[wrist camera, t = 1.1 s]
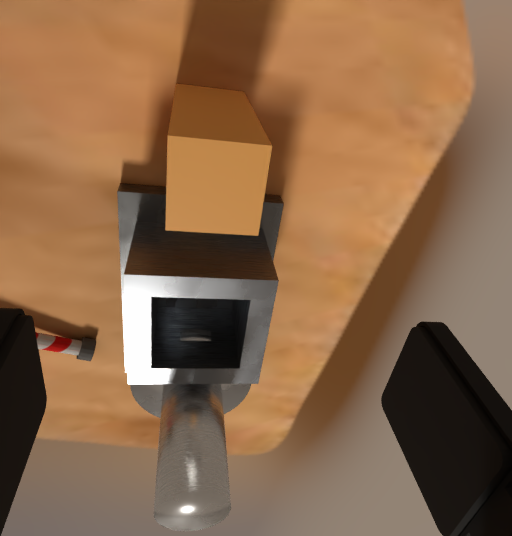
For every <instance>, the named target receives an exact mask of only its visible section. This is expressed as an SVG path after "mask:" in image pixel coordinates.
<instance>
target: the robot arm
mask: <svg viewBox="0 0 512 536" xmlns="http://www.w3.org/2000/svg"><path fill="white" fill-rule="evenodd" d="M381 401H382V407H383V410H384V412H385V414H386V417H387V419H388V421H389V423H390V425H391V427H392V430H393V432H394V434H395V436H396V438H397V440H398V443H399V445H400V447H401V449H402V451H403V454H404V456H405V458H406V460H407V462H408V464H409V467H410V469H411V471H412V473H413V475H414V478H415V480H416V482H417V484H418V486H419V488H420V490H421V493H422V495H423V497H424V499H425V501H426V503H427V506H428V508H429V510H430V512H431V514H432V517H433V519H434V521H435V523H436V525H437V528H438V529H439V531H440V533H441V534H442V535H443V536H512V410H511V409H510V408H509V407H508V405H507V404H506V403H505V401H504V400H503V399H502V397H501V396H500V395H499V394H498V392H497V391H496V390H495V388H494V387H493V386H492V384H491V383H490V382H489V380H488V379H487V378H486V376H485V375H484V374H483V373H482V371H481V370H480V369H479V367H478V366H477V365H476V363H475V362H474V361H473V360H472V358H471V357H470V356H469V354H468V353H467V352H466V350H465V349H464V348H463V346H462V345H461V344H460V343H459V341H458V340H457V339H456V337H455V336H454V335H453V334H452V332H451V331H450V330H449V328H448V327H447V326H446V325H445V324H444V323H442V322H420V323H419V324H417V326H416V327H413V328H412V329H411V331H410V333H409V335H408V337H407V340H406V342H405V344H404V347H403V349H402V351H401V353H400V356H399V358H398V360H397V362H396V365H395V367H394V369H393V371H392V374H391V376H390V378H389V381H388V383H387V386H386V388H385V390H384V392H383V394H382V400H381ZM46 402H47V397H46V390H45V384H44V379H43V373H42V367H41V362H40V356H39V350H38V345H37V339H36V333H35V327H34V322H33V318H32V316H29V315H25V314H24V311H23V310H22V309H12V308H0V536H1V533H2V531H3V528H4V525H5V522H6V519H7V517H8V514H9V511H10V508H11V505H12V502H13V499H14V497H15V494H16V491H17V488H18V486H19V483H20V480H21V477H22V474H23V471H24V469H25V466H26V463H27V460H28V457H29V455H30V452H31V449H32V446H33V443H34V440H35V438H36V435H37V432H38V429H39V426H40V424H41V421H42V418H43V415H44V412H45V408H46Z"/></svg>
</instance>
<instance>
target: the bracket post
mask: <svg viewBox="0 0 512 536" xmlns="http://www.w3.org/2000/svg"><path fill="white" fill-rule="evenodd" d="M117 193H118V217H119V240H120V264H121V287H122V310H123V334H124V357H125V372H128V384H130V386H131V391H132V394H133V396H134V398H135V400H136V401H137V402H138V404H139V405H140V406H141V407H142V408H143V409H145V410H146V411H148V412H149V413H151V414H153V415H155V416H157V417H159V418H161V419H160V433H159V447H158V462H157V475H156V490H155V503H154V518H155V520H156V521H157V522H158V523H159V524H160V525H162V526H164V527H166V528H168V529H172V530H177V531H195V530H201V529H205V528H208V527H211V526H214V525H216V524H218V523H219V522H221V521H222V520H224V519H225V518H226V517H227V515H228V514H229V512H230V510H231V503H230V490H229V477H228V464H227V451H226V438H225V425H224V414H225V413H227V412H229V411H231V410H232V409H234V408H235V407H236V406H237V405H239V404H240V403H241V402H242V401H243V399H244V398H245V397H246V395H247V394H248V392H249V389H250V386H251V384H258V382H259V377H260V372H261V367H262V362H263V356H264V351H265V346H266V341H267V336H268V331H269V326H270V321H271V316H272V311H273V306H274V301H275V296H276V291H277V286H278V281H279V280H278V277H277V274H276V270H275V267H274V264H273V258H274V253H275V247H276V242H277V237H278V231H279V226H280V220H281V215H282V210H283V204H284V203H283V201H282V199H281V197H280V196H279V195H266V194H265V196H264V202H263V209H262V215H261V221H260V228H259V234H258V236H253V235H236V234H218V233H201V232H184V231H167V230H165V226H166V187H162V186H149V185H136V184H123V183H120V186H119V188H118V191H117Z"/></svg>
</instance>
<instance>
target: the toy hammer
mask: <svg viewBox="0 0 512 536" xmlns="http://www.w3.org/2000/svg"><path fill="white" fill-rule="evenodd" d="M35 333H36V332H35ZM36 339H37V345H38V349H42V350H48V351H54V352H60V353H66V354H72V355H77V359H80V360H86V361H91V359H92V357H93V354H94V351H95V346H96V340H95V339H89V338H84V337H83V338H82V340H81V341H80V340H75V339H69V338H64V337H58V336H53V335H47V334H42V333H36Z"/></svg>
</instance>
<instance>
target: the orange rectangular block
mask: <svg viewBox="0 0 512 536" xmlns="http://www.w3.org/2000/svg"><path fill="white" fill-rule="evenodd" d="M271 151H272V144H271V142H270V140H269V138H268V137H267V135H266V133H265V131H264V129H263V127H262V125H261V123H260V121H259V119H258V118H257V116H256V114H255V112H254V110H253V108H252V106H251V104H250V102H249V101H248V99H247V97H246V95H245V93H244V92H243V91H235V90H227V89H218V88H210V87H202V86H194V85H185V84H177V83H176V86H175V93H174V99H173V105H172V111H171V118H170V124H169V130H168V141H167V184H166V226H165V230H167V231H184V232H201V233H218V234H236V235H253V236H258V234H259V228H260V221H261V215H262V209H263V202H264V196H265V189H266V183H267V177H268V170H269V164H270V158H271Z"/></svg>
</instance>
